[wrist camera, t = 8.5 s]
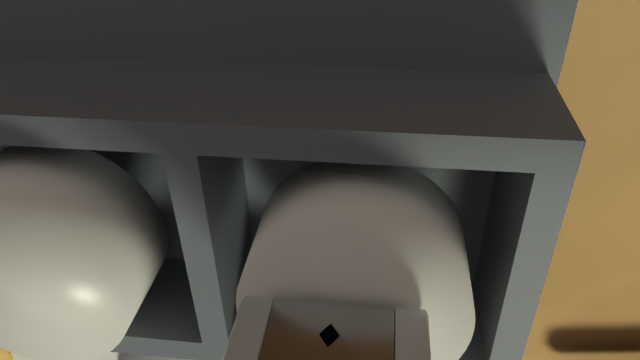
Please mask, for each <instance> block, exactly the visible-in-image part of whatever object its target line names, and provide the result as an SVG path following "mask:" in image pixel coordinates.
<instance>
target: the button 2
mask: <svg viewBox="0 0 640 360" xmlns="http://www.w3.org/2000/svg"><path fill="white" fill-rule="evenodd" d="M245 296H252V297H262V298H272V299H275V298H277V299H287V300H297V301H307V302H317V303H327V304H334V303H335V304H351V305H366V306H382V307H394V309H395V308H409V309H424V310H426V312H427V314H428V320H429V336H430V351H431V360H459V359H460V357H461V356H462V355H463V353H464V352H465V351H466V349H467V347H468V345H469V343H470V342H471V339H472V336H473V333H474V328H475V308H474V301H473V294H472V287H471V280H470V273H469V265H468V258H467V251H466V244H465V237H464V230H463V226H462V222H461V218H460V216H459V214H458V211H457V209H456V207H455V205H454V204H453V202H452V201H451V199H450V198H449V197H448V196H447V194H446V193H445V192H444V191H443V190H442V189H441V188H440V187H439V186H438V185H437V184H435V183H434V182H433V181H432V180H431V179H429V178H428V177H426V176H425V175H423V174H422V173H420V172H418V171H416V170H414V169H412V168H410V167H407V166H388V165H369V164H350V163H330V162H316V163H313V164H311V165H308V166H306V167H304V168H302V169H300V170H298V171H296V172H295V173H293V174H292V175H291V176H289V177H288V178H287V179H285V180H284V181H283V182H282V183H281V184H280V185H279V186H278V187H277V188H276V190H275V191H274V192H273V194H272V195H271V196H270V198H269V200H268V202H267V204H266V206H265V209H264V212H263V215H262V218H261V221H260V223H259V226H258V229H257V232H256V235H255V238H254V241H253V244H252V246H251V249H250V252H249V255H248V258H247V261H246V264H245V267H244V269H243V272H242V275H241V278H240V281H239V284H238V287H237V293H236V311H237V312H238V309H239V306H240V303H241V302H242V300H243V299H244V297H245Z"/></svg>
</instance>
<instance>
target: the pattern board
mask: <svg viewBox="0 0 640 360" xmlns="http://www.w3.org/2000/svg"><path fill="white" fill-rule="evenodd" d="M577 2H578V0H0V151H2V150H3V149H5V148H7V147H9V146H24V147H43V148H62V149H82V150H91V151H93V152H95V153H97V154H100V155H102V156H103V157H105V158H107V159H109V160H110V161H112V162H114V163H115V164H117V165H118V166H120V167H121V168H123V169H124V170H125V171H126V172H128V173H129V174H130V175H131V176H132V177H134V178H135V179H136V180H137V181H138V182H139V183H140V184H141V185H142V186H143V187H144V188H145V190H146V191H147V192H148V194H149V195H150V196H151V197H152V199H153V200H154V202H155V203H156V205H157V207H158V208H159V210H160V213H161V215H162V217H163V219H164V222H165V226H166V229H167V236H168V248H167V253H166V257H165V259H164V262H163V264H162V266H161V268H160V270H159V272H158V273H157V275H156V277H155V279H154V281H153V283H152V285H151V287H150V289H149V290H148V292H147V294H146V296H145V298H144V300H143V302H142V304H141V306H140V307H139V309H138V311H137V313H136V315H135V317H134V319H133V321H132V322H131V324H130V326H129V328H128V330H127V332H126V334H125V336H124V337H123V339H122V340H121V342H120V343H119V344H118V345H117V346H116V347H115V348H114V349H113V350H112V351H110V352H108V353H107V354H105V355H103V356H101V357H98V358H96V359H92V360H222V359H223V355H224V352H225V349H226V346H227V343H228V340H229V337H230V334H231V331H232V327H233V324H234V321H235V318H236V315H237V311H236V293H237V287H238V284H239V281H240V278H241V275H242V272H243V269H244V267H245V264H246V261H247V258H248V255H249V252H250V249H251V246H252V244H253V241H254V238H255V235H256V232H257V229H258V226H259V223H260V221H261V218H262V215H263V212H264V209H265V206H266V204H267V202H268V200H269V198H270V196H271V195H272V194H273V192H274V191H275V190H276V188H277V187H278V186H279V185H280V184H281V183H282V182H283V181H284V180H285V179H287V178H288V177H289V176H291V175H292V174H293V173H295V172H296V171H298V170H300V169H302V168H304V167H306V166H308V165H311V164H313V163H316V162H330V163H350V164H369V165H388V166H407V167H410V168H412V169H414V170H416V171H418V172H420V173H422V174H423V175H425V176H426V177H428V178H429V179H431V180H432V181H433V182H434V183H435V184H437V185H438V186H439V187H440V188H441V189H442V190H443V191H444V192H445V193H446V194H447V196H448V197H449V198H450V199H451V201H452V202H453V204H454V205H455V207H456V209H457V211H458V214H459V216H460V218H461V222H462V226H463V230H464V237H465V244H466V251H467V258H468V265H469V273H470V280H471V287H472V294H473V301H474V308H475V328H474V333H473V336H472V339H471V342H470V343H469V345H468V347H467V349H466V351H465V352H464V353H463V355H462V356H461V357H460V359H459V360H522V356H523V353H524V349H525V346H526V343H527V339H528V336H529V332H530V329H531V326H532V322H533V319H534V316H535V312H536V309H537V305H538V302H539V299H540V295H541V292H542V288H543V285H544V282H545V278H546V275H547V272H548V268H549V265H550V261H551V258H552V255H553V251H554V248H555V245H556V241H557V238H558V234H559V231H560V228H561V224H562V221H563V217H564V214H565V211H566V207H567V204H568V201H569V197H570V194H571V190H572V187H573V184H574V180H575V177H576V173H577V170H578V167H579V163H580V160H581V157H582V153H583V150H584V146H585V143H586V140H585V139H584V137H583V135H582V133H581V131H580V129H579V128H578V126H577V124H576V122H575V120H574V118H573V117H572V115H571V113H570V111H569V109H568V108H567V106H566V104H565V102H564V100H563V98H562V97H561V95H560V93H559V91H558V89H557V84H558V80H559V76H560V72H561V68H562V64H563V59H564V55H565V51H566V47H567V43H568V39H569V35H570V31H571V27H572V23H573V19H574V15H575V10H576V6H577ZM0 360H37V359H32V358H28V357H25V356H21V355H18V354H15V353H12V352H9V351H7V350H4V349H2V348H0Z"/></svg>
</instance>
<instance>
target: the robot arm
mask: <svg viewBox="0 0 640 360" xmlns="http://www.w3.org/2000/svg"><path fill="white" fill-rule="evenodd" d="M222 360H431V351H430V336H429V320H428V314H427V312H426V310H424V309H409V308H395V309H394V307H382V306H366V305H351V304H335V303H334V304H327V303H317V302H307V301H297V300H287V299H277V298H275V299H272V298H262V297H252V296H245V297H244V299H243V300H242V302H241V303H240V306H239V309H238V312H237V315H236V318H235V321H234V324H233V327H232V331H231V334H230V337H229V340H228V343H227V346H226V349H225V352H224V355H223V359H222Z"/></svg>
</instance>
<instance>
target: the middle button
mask: <svg viewBox="0 0 640 360" xmlns="http://www.w3.org/2000/svg"><path fill="white" fill-rule="evenodd" d="M167 248H168V236H167V229H166V226H165V222H164V219H163V217H162V215H161V213H160V210H159V208H158V207H157V205H156V203H155V202H154V200H153V199H152V197H151V196H150V195H149V194H148V192H147V191H146V190H145V188H144V187H143V186H142V185H141V184H140V183H139V182H138V181H137V180H136V179H135V178H134V177H132V176H131V175H130V174H129V173H128V172H126V171H125V170H124V169H123V168H121V167H120V166H118V165H117V164H115V163H114V162H112V161H110V160H109V159H107V158H105V157H103V156H102V155H100V154H97V153H95V152H93V151H91V150H82V149H62V148H43V147H24V146H9V147H7V148H5V149H3V150H2V151H0V348H2V349H4V350H7V351H9V352H12V353H15V354H18V355H21V356H25V357H28V358H32V359H37V360H92V359H96V358H98V357H101V356H103V355H105V354H107V353H108V352H110V351H112V350H113V349H114V348H115V347H116V346H117V345H118V344H119V343H120V342H121V340H122V339H123V337H124V336H125V334H126V332H127V330H128V328H129V326H130V324H131V322H132V321H133V319H134V317H135V315H136V313H137V311H138V309H139V307H140V306H141V304H142V302H143V300H144V298H145V296H146V294H147V292H148V290H149V289H150V287H151V285H152V283H153V281H154V279H155V277H156V275H157V273H158V272H159V270H160V268H161V266H162V264H163V262H164V259H165V257H166V253H167Z"/></svg>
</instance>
